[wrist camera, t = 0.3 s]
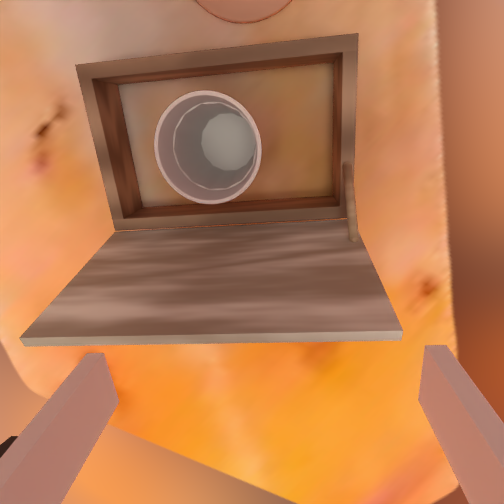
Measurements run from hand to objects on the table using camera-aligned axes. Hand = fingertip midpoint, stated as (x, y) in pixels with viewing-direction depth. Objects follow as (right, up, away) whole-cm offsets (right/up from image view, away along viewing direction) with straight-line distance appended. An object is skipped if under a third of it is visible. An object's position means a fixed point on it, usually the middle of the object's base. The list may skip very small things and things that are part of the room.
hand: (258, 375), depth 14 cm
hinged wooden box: (-3, +15, +22) cm, 27 cm away
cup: (-3, +17, +22) cm, 28 cm away
